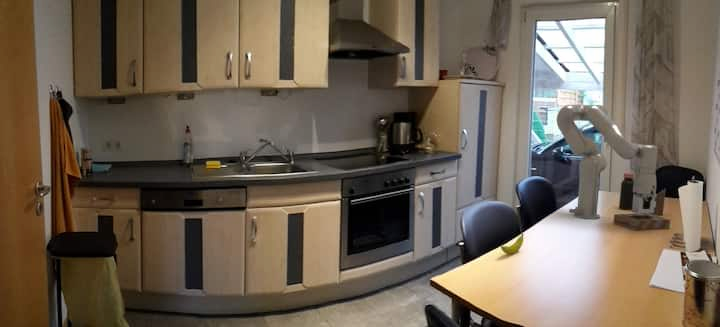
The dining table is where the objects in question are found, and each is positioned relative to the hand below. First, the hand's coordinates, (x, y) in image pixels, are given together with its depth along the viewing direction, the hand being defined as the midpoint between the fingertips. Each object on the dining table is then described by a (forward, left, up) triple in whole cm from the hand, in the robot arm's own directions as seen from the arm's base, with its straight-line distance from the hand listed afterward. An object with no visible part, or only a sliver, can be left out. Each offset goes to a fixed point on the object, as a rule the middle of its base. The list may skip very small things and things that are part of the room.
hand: (642, 207), depth 259 cm
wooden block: (+27, +22, -9) cm, 36 cm away
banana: (-88, -28, -9) cm, 93 cm away
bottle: (+21, +34, -9) cm, 41 cm away
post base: (0, 0, -9) cm, 9 cm away
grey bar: (0, 0, -2) cm, 2 cm away
